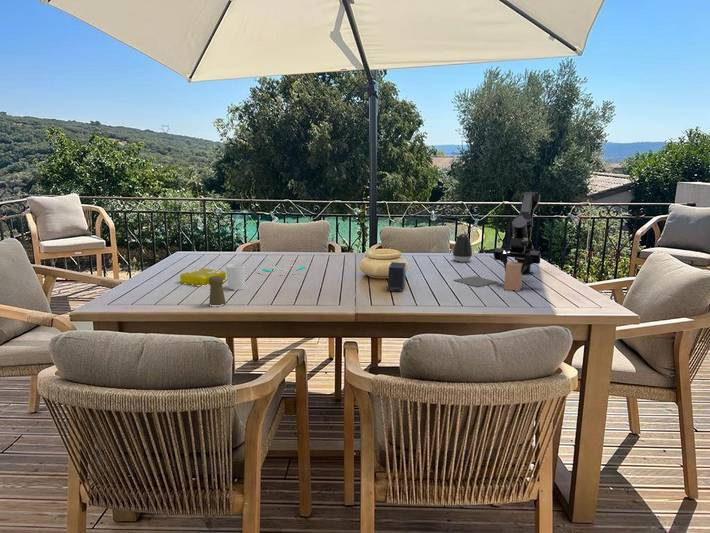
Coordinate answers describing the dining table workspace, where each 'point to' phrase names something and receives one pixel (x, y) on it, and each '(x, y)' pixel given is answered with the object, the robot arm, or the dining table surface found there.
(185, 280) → the element tile
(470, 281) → the rubber mat
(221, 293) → the cork
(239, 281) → the white cup
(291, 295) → the dining table surface
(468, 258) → the dark grey rounded vessel
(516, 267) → the tan rectangular block
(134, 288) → the dining table surface
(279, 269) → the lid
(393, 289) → the small box
